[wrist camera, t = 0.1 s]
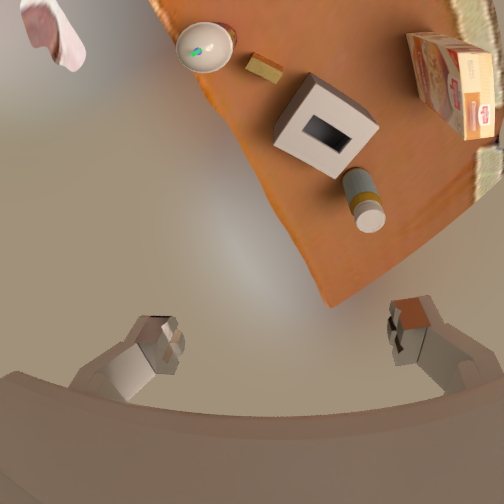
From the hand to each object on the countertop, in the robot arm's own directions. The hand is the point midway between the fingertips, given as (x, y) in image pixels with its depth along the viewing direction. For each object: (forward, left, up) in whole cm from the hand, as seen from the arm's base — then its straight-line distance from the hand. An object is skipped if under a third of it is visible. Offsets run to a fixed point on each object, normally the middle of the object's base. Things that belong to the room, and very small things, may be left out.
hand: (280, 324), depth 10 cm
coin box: (+6, +14, -52) cm, 54 cm away
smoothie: (+1, -11, -52) cm, 53 cm away
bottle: (+14, +30, -52) cm, 62 cm away
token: (+2, -1, -52) cm, 52 cm away
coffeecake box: (-18, +25, -52) cm, 60 cm away
